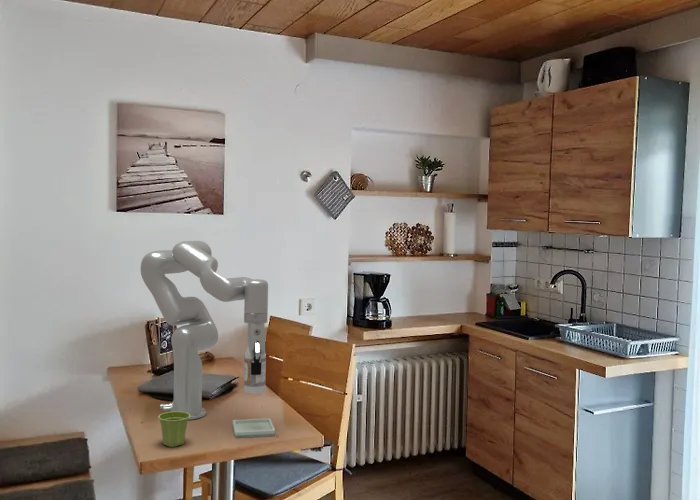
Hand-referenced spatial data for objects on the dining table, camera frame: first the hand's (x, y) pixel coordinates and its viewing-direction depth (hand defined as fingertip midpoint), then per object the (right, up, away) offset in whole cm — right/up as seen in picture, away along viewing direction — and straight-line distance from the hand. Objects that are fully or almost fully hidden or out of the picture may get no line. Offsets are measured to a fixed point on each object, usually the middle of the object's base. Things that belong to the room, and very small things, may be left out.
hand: (254, 371), depth 210 cm
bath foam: (0, -7, 0) cm, 7 cm away
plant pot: (-23, -20, -13) cm, 33 cm away
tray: (-1, -20, +1) cm, 20 cm away
